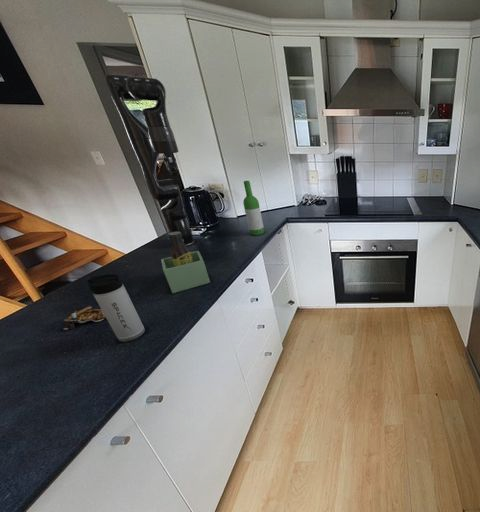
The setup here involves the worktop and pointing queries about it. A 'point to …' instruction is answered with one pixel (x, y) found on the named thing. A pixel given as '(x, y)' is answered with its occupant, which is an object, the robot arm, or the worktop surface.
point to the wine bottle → (252, 211)
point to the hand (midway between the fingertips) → (176, 182)
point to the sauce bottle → (179, 250)
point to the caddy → (185, 273)
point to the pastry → (84, 316)
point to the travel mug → (116, 306)
